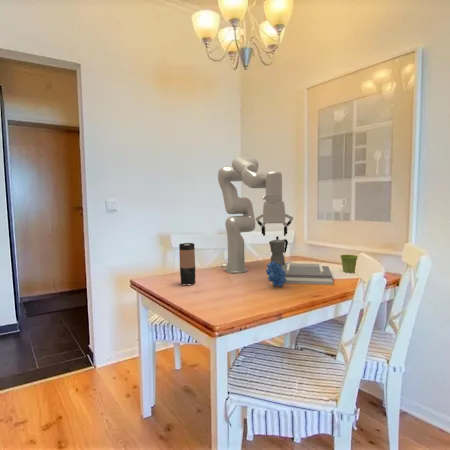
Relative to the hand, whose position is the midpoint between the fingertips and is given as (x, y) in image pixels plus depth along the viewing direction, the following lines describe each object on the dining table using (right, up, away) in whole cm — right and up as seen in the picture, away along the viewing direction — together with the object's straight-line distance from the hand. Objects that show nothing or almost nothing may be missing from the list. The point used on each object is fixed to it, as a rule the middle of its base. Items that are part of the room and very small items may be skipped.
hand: (274, 235), depth 158 cm
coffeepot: (+10, -20, +49) cm, 54 cm away
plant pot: (+45, -21, +29) cm, 58 cm away
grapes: (0, -25, +2) cm, 25 cm away
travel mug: (-42, -25, +12) cm, 50 cm away
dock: (+19, -22, +21) cm, 36 cm away
